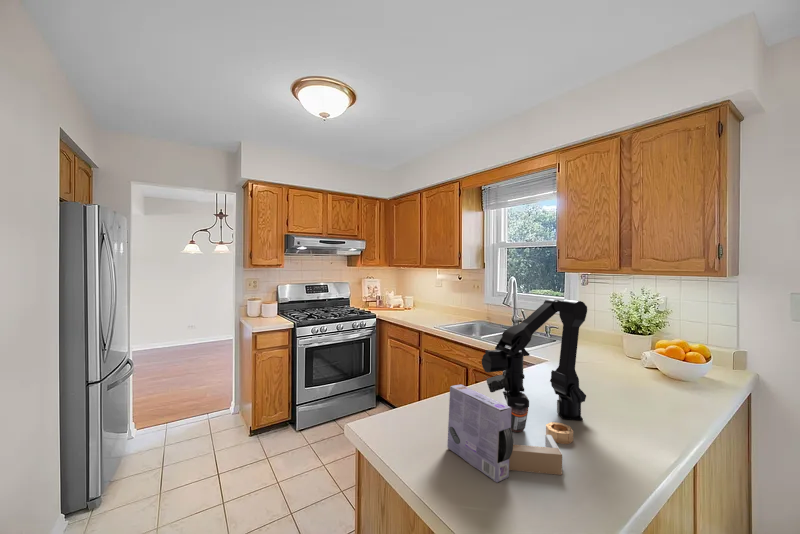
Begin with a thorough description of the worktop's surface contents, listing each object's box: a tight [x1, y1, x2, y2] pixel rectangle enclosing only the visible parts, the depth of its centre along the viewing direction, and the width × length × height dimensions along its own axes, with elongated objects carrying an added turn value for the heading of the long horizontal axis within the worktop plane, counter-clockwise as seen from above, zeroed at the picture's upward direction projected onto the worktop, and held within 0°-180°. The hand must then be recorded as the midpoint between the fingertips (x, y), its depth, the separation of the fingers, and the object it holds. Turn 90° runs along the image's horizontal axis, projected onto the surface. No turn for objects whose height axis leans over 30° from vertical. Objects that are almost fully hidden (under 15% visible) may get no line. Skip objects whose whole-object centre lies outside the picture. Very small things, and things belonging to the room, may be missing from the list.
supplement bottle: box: [509, 403, 529, 433], centre depth 104 cm, size 6×6×11 cm
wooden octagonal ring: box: [545, 421, 574, 445], centre depth 101 cm, size 7×7×3 cm
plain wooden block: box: [509, 434, 563, 476], centre depth 90 cm, size 16×13×5 cm
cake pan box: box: [446, 384, 514, 484], centre depth 88 cm, size 19×5×18 cm, turn 33°
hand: (513, 417), depth 109 cm, fingers closed, pressing on supplement bottle
